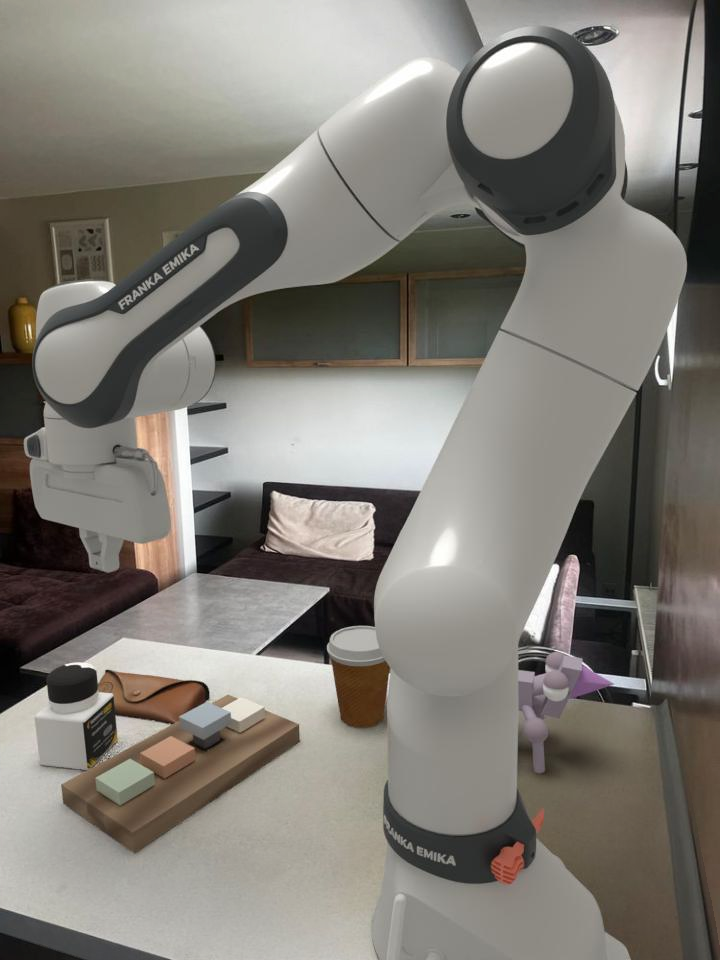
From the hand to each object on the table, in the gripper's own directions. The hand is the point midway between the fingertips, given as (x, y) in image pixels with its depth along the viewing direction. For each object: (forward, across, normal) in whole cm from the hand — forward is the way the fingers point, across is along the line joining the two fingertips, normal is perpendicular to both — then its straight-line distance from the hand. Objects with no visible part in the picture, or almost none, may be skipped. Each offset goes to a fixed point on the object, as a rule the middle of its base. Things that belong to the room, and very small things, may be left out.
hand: (104, 569), depth 75 cm
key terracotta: (+29, 0, -6) cm, 29 cm away
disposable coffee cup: (+29, -10, -32) cm, 45 cm away
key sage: (+29, 0, 0) cm, 29 cm away
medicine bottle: (+29, +15, -3) cm, 33 cm away
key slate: (+27, 0, -12) cm, 29 cm away
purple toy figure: (+29, -33, -37) cm, 58 cm away
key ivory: (+29, 0, -18) cm, 34 cm away
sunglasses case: (+30, +19, -16) cm, 38 cm away
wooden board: (+29, 0, -9) cm, 30 cm away
